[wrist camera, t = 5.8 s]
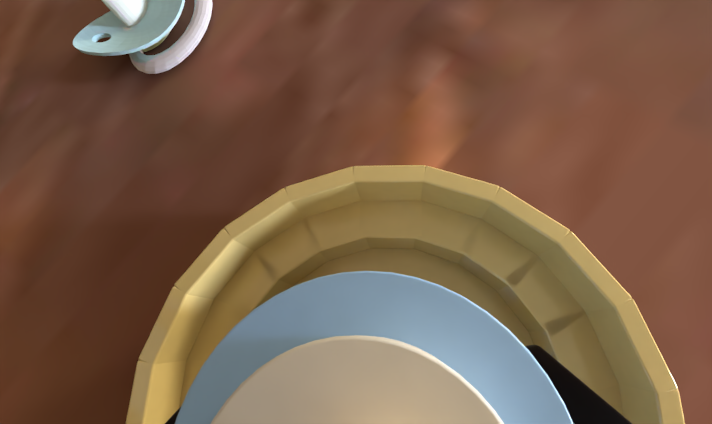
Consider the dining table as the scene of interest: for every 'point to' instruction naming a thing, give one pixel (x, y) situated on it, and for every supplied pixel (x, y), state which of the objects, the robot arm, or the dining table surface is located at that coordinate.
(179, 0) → the pacifier
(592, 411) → the robot arm
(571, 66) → the dining table surface
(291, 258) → the bowl
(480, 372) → the baby bottle
